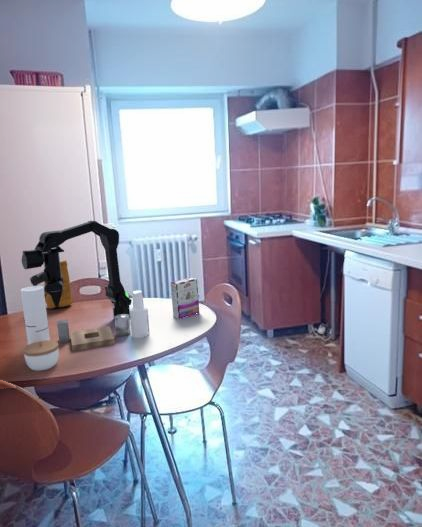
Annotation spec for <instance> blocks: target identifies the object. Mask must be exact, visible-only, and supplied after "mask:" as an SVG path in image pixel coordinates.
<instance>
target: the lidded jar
mask: <svg viewBox="0 0 422 527" xmlns="http://www.w3.org/2000/svg"><path fill="white" fill-rule="evenodd" d="M59 348H60V347H59V342H58V341H56V340H51V339H50V340H45V341H39V342H35V343H32V344H29V345H28V344H26V346H24V347H23V350H22V351H23V356H24V360H25V363H26V365H27V366H28V368H29V369H30V370H32V371H39V372H40V371H45V370H48V369H51V368H53V367H55V366H56V364H57V363H58V361H59V356H60V352H59V351H60V350H59Z"/></svg>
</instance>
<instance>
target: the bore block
mask: <svg viewBox="0 0 422 527" xmlns="http://www.w3.org/2000/svg"><path fill="white" fill-rule="evenodd" d="M69 335H70V342H71V347H72V352H75V351H82V350H87V349H93V348H98V347H106V346H113V345H115V344H116V342H115V339H116V338H115V337H114V334H113V331H112V329H111V326H110V325H107V326H101V327H100V326H99V327H94V328H87V329H83V330H75V331H69Z"/></svg>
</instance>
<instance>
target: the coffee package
mask: <svg viewBox="0 0 422 527" xmlns="http://www.w3.org/2000/svg"><path fill="white" fill-rule="evenodd" d="M43 266H44V265H43ZM60 266H61V275H63V292H62V295H61V299H60V302H59V306H58V307H57V308H65V307H67V306H72V305H73V296H72V289H71V281H70V274H69V270H68V262H67V260H61V261H60ZM44 268H45V266H44ZM60 282H61V281H60ZM43 284H44V286H43V289H44V297H45V304H46V308H48V309H55V308H56V307H55V305H54V303H53V300H52V297H51V295H49V294H48V293H46V292H45V285H46V284H47V283H45V281H44V282H43Z"/></svg>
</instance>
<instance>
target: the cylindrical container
mask: <svg viewBox="0 0 422 527" xmlns="http://www.w3.org/2000/svg"><path fill="white" fill-rule="evenodd" d="M20 296H21V303H22V308H23V309H22V310H23V317H24V318H23V319H24V324H25V325H24V326H25V332H26V340H27V345H29V344H32V343H35V342H39V341H45V340H51V337H50V329H49V328H50V327H49V323H48V322H49V321H48V313H47V304H46V302H45V296H44V286H43V285H37V286H33V285H31V286H26V287H22V288H21V289H20Z"/></svg>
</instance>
